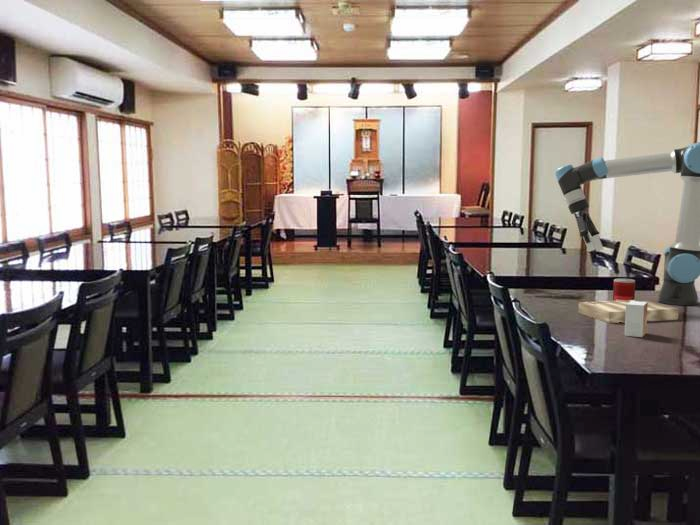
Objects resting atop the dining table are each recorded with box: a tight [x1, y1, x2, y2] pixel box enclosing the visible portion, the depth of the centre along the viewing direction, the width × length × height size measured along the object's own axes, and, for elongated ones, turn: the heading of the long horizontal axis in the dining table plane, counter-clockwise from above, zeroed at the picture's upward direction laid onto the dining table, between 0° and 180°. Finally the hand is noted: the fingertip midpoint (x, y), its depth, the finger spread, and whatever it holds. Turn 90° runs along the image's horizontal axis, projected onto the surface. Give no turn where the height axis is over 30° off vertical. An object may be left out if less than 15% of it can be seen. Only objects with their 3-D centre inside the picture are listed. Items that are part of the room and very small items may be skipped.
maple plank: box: [578, 299, 680, 324], centre depth 253 cm, size 28×20×4 cm
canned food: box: [612, 278, 636, 301], centre depth 271 cm, size 8×8×11 cm
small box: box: [624, 301, 648, 338], centre depth 222 cm, size 8×6×10 cm
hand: (596, 250), depth 273 cm, fingers open, 13 cm apart
